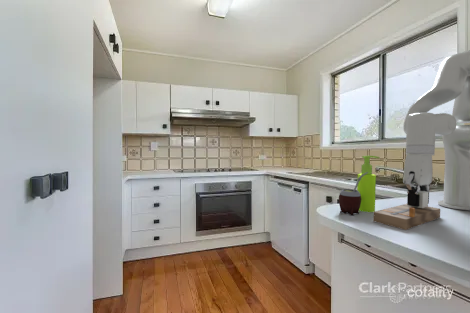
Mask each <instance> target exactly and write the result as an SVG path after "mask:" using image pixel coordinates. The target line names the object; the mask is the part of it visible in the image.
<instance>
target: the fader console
mask: <svg viewBox="0 0 470 313" xmlns="http://www.w3.org/2000/svg"><path fill="white" fill-rule="evenodd" d="M372 216H373V217H372V218H373V219H372V222H375V223H379V224H382V225H384V226H385V225H386V226H390V227H394V228H397V229H401V230H405V231H407V230H410V229H412V228H416V227H418V226H421V225H424V224H427V223H429V222H432V221H435V220H437V219H440V218H441V208H440V207H439V208H438V207H433V206H428V207H425V208H418V207H413V206H408V205H407V203H404V204H403V203H402V204H400V205H395V206H392V207H388V208H387V207H386V208H384V209H383V208H382V209H380V210H375V212H373V215H372Z"/></svg>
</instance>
